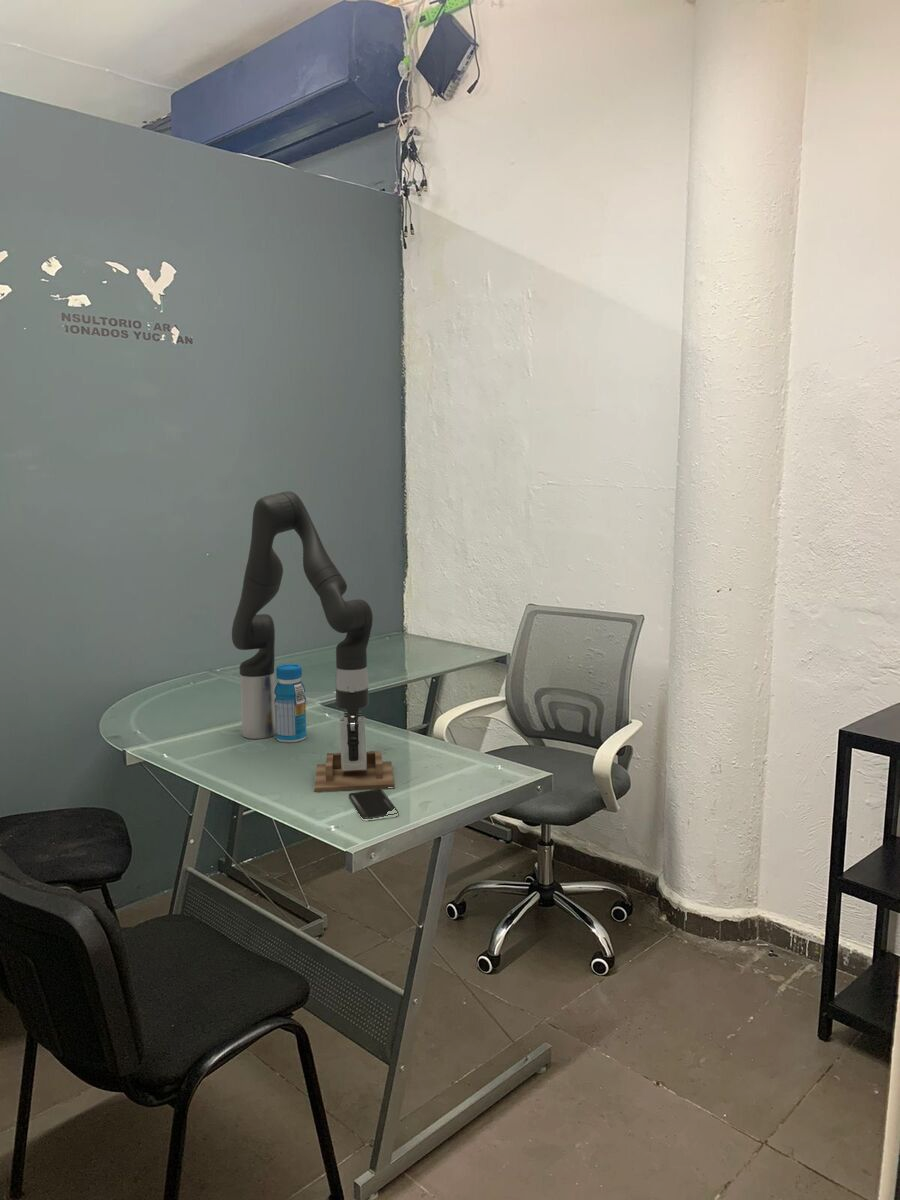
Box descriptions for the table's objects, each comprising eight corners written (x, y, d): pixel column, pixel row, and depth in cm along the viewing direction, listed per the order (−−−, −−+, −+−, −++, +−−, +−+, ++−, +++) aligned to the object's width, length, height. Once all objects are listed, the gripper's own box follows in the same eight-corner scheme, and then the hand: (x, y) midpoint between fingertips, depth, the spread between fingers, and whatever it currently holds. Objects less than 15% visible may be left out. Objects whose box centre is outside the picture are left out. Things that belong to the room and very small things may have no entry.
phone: (363, 818, 178) (347, 793, 192) (363, 823, 178) (347, 798, 192) (400, 813, 180) (382, 788, 194) (400, 818, 180) (382, 793, 194)
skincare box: (367, 764, 206) (366, 715, 204) (367, 771, 201) (366, 720, 199) (340, 765, 205) (339, 716, 203) (340, 772, 201) (339, 721, 199)
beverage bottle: (276, 744, 229) (274, 670, 226) (274, 735, 237) (271, 664, 234) (308, 741, 231) (306, 668, 228) (305, 732, 239) (303, 662, 236)
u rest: (317, 768, 210) (316, 750, 210) (391, 765, 212) (391, 747, 212) (314, 792, 195) (313, 772, 194) (394, 788, 197) (394, 769, 196)
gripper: (336, 679, 207) (338, 748, 209) (335, 694, 193) (336, 768, 195) (367, 678, 208) (369, 746, 210) (368, 693, 194) (370, 766, 196)
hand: (353, 756), depth 203 cm, fingers closed on skincare box, 4 cm apart
